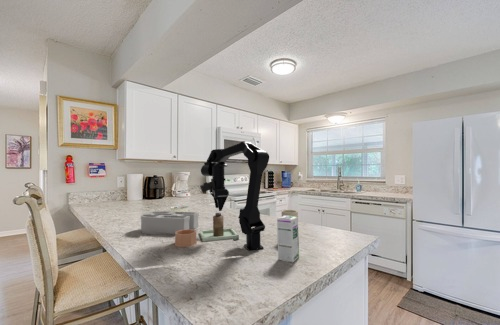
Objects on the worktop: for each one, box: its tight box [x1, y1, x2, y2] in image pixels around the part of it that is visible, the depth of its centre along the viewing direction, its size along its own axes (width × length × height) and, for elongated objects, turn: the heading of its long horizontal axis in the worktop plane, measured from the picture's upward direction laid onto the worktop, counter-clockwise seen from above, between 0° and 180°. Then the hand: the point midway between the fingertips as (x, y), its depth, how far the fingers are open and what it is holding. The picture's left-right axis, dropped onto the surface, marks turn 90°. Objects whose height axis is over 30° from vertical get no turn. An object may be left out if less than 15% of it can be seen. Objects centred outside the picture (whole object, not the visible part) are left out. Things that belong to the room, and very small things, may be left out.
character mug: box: [281, 209, 299, 218], centre depth 101 cm, size 11×7×13 cm, turn 164°
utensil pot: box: [174, 229, 197, 248], centre depth 96 cm, size 9×9×6 cm
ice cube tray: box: [140, 210, 200, 235], centre depth 121 cm, size 17×28×9 cm, turn 78°
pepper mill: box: [212, 212, 225, 237], centre depth 107 cm, size 5×5×10 cm
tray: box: [199, 227, 240, 243], centre depth 107 cm, size 14×16×2 cm
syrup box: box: [276, 215, 300, 263], centre depth 81 cm, size 6×6×14 cm
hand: (218, 209), depth 107 cm, fingers open, 9 cm apart
